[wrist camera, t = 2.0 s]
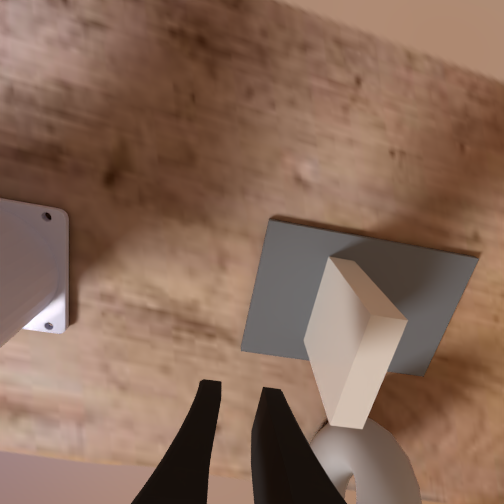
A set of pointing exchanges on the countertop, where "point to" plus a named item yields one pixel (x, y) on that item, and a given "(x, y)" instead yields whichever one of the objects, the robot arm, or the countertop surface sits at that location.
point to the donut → (367, 463)
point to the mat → (376, 268)
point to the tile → (351, 341)
